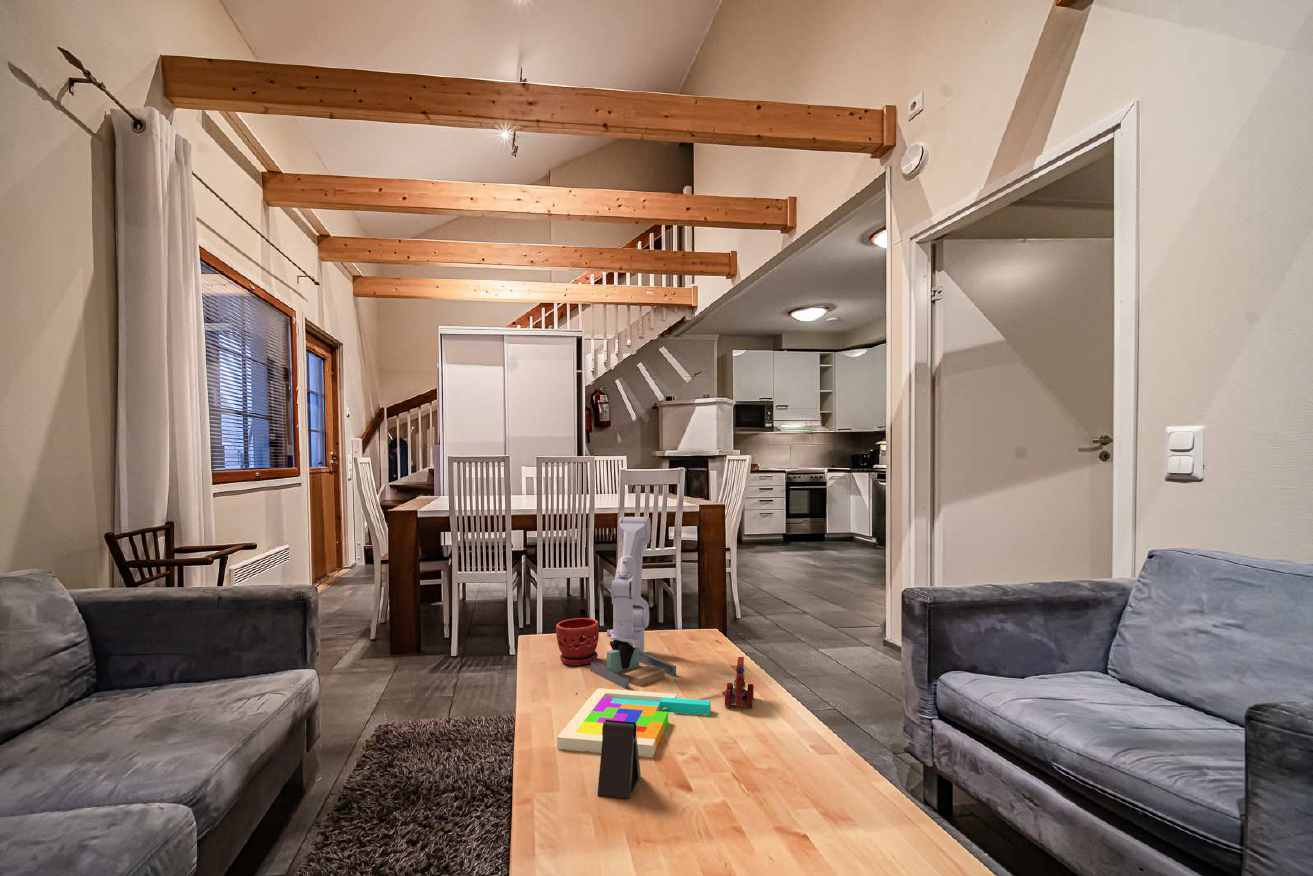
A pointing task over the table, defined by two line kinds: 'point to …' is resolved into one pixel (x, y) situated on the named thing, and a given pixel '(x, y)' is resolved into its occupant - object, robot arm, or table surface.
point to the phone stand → (618, 759)
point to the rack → (624, 680)
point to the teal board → (615, 660)
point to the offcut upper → (645, 675)
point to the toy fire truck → (739, 689)
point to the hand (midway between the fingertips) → (623, 666)
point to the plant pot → (578, 640)
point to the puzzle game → (626, 718)
